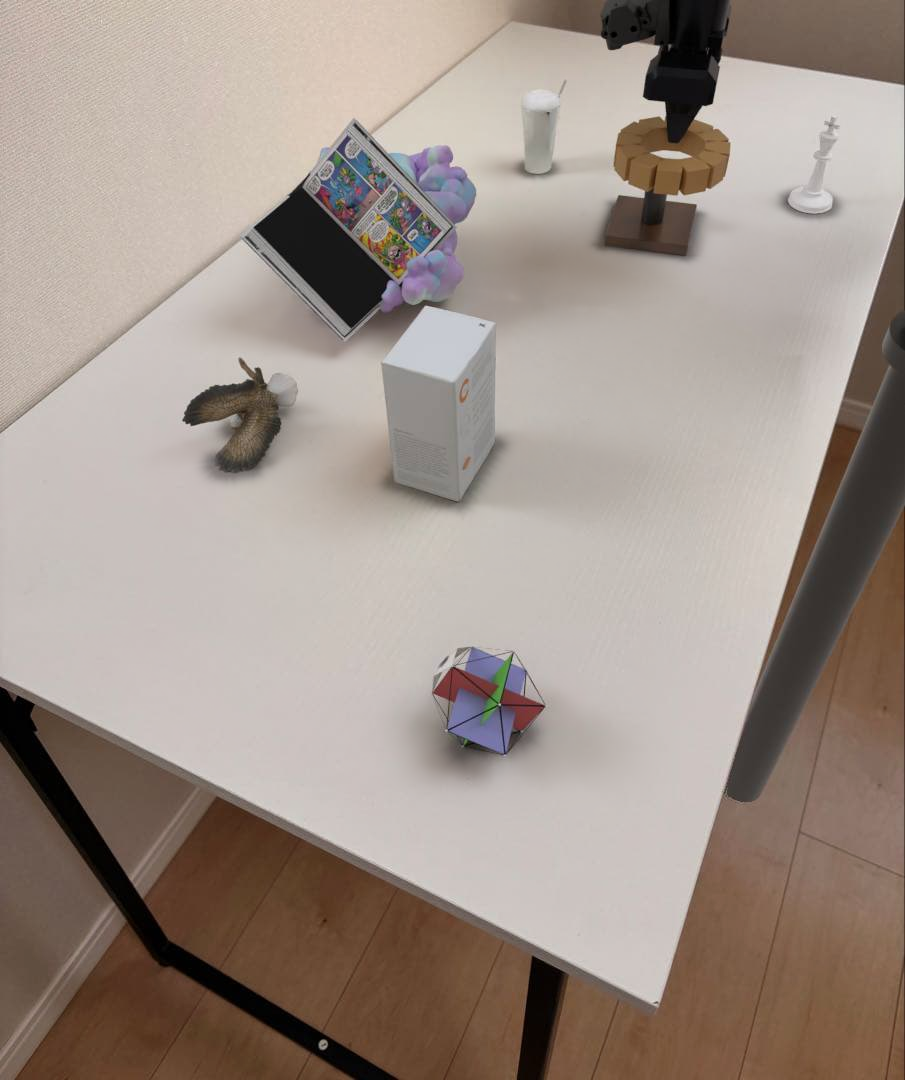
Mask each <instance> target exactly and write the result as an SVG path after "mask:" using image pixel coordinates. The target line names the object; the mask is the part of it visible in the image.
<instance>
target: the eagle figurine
mask: <svg viewBox="0 0 905 1080" xmlns="http://www.w3.org/2000/svg"><path fill="white" fill-rule="evenodd" d="M238 364H239V366H240V368H241V369H242V370H244V371H245V373H246V375H247V376H248V377H249V378H251V379H249V378H247V379H245V380H244V381H243V382H241V383H230V384H223V385H219V384H214V385H211V386H209V387H208V389H207V388H206V389H204V391H201V392H200V393H199V394H197V395H196V396H195V397H194V398H192V399H191V400H190V401H189V403H188V405H186V409H185V410H184V412H183V415H184V416H183V417H182V423H184V424H185V425H189V426H190V427H194V426H198V425H202V424H206V423H213V422H219V421H221V420H222V421H223V420H225V419H228V418H229V417H231V416H233V417H232V418H231V419H230V421H229V423H230V429H233V428H235V429H236V428H237V430H236V431H235V432H234V433H233V435H232V436H231V437H230V439H229V440H228V442H227V443H226V444H224V446H223V447H221V449H219V450H218V452H217V453H216V454H215V455H214V459H215V460H216V463H215V464H216V465H218V468H219V470H220V471H224V472H225V473H228V472H239V471H240V469H241V470H242V471H245V470H247V469H248V468H249V469H250V468H253V467H254V466H256V465H257V464H258V463H259V462H261V461H262V460H263V458H264V457H265V456H266V452H268V450H269V449H270V445H271V443H273V440H274V439H275V437H276V436H278V434H279V433H280V431H281V428H282V427H281V426H282V419H281V417H279V413H278V412H277V411H279V410H280V407H286V408H289V407H293V406H294V405H295V403H296V400H297V396H298V393H299V389H298V383H297V381H296V380H295V379H294V378H293V377H292V376H290V375H289V374H286V373H282V372H276V373H274V374H272V376H271V377H270V379H269V381H268V383H267V382H266V381H265V378H264V376H263V372H262V368H261V367H259V366H257V367H254V370H253V369H252V368H251V367H250V366H248V364H247V363H246V361H245V360H244V359H243V358H242V357H238Z"/></svg>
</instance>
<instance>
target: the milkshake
mask: <svg viewBox="0 0 905 1080" xmlns="http://www.w3.org/2000/svg"><path fill="white" fill-rule="evenodd" d="M566 84H567V79H564V81H563V83H562V85H561V88H560V90H559V93H558V94H556V93H555V92H553V91H551V90H548V89H542V88H541V89H540V88H536V89H534V90H530V91H528V92H526V93H525V94H524V95H523V97H522V99H521V102H520V103H521V117H522V129H523V130H522V132H523V158H524V159H523V160H524V169H525V171H526V172H528V173H530V174H533V175H542V174H546V173H548V172H549V171H551V170H552V164H553V157H554V150H555V143H556V135H557V128H558V127H557V126H558V123H559V121H558V120H559V116H560V109H561V104H562V102H561V96H562V93H563V91H564V89H565V87H566Z"/></svg>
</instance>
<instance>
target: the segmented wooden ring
mask: <svg viewBox="0 0 905 1080" xmlns="http://www.w3.org/2000/svg"><path fill="white" fill-rule="evenodd" d="M661 151H662V152H663V151H668V152H677V153H678V152H680V153H682V154H684V155H687V156H689V157H684V158H670V157H669V158H668V157H662V156H659V155H657V154H654V153H655V152H661ZM730 156H731V141H730V140H729V137H727V135H725V133H723V132H722V131H721V129H719V128H714V125H712V124H709V123H706V122H703V121H700V120H698V119H695V118H694V120H693V121H692V123H691V125H690V126H689V128H688V129H687V131H686V133H685V134H684V136H683V137H682V139H681V141H680V142H679V143H669V142H668V136H667V122H666V115H665V116H664V119H663V118H662V117H661V116H659V115H658V116H653V117H648V118H647V117H646V118H642V119H638V121H633V122H631V123H630V124H627V125H626V126H625V127H623V128H621V129H620V132H618V134H617V137H616V142H615V150H614V157H613V168H614V172H615V173H616V174H617V175H618V176H619V178H620V179H621V180H622V181H623V182H627V184H628V185H630V186H632V187H634V188H637V189H639V190H641V191H644V192H645V191H646V192H648V191H650V190H651V189H652V188H654V192H653V193H655V194H666V195H667V196H676V197H677V196H678V195H679V192H680V193H681V195H683V196H689V195H694V194H699V193H704V192H706V191H707V189H708V190H711V189H713V188H714V187H716V186H717V185H718V184H720V183H721V182H722V181H723V180H724V178H725V177H726V173H727V169H728V164H729V160H730Z"/></svg>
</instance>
